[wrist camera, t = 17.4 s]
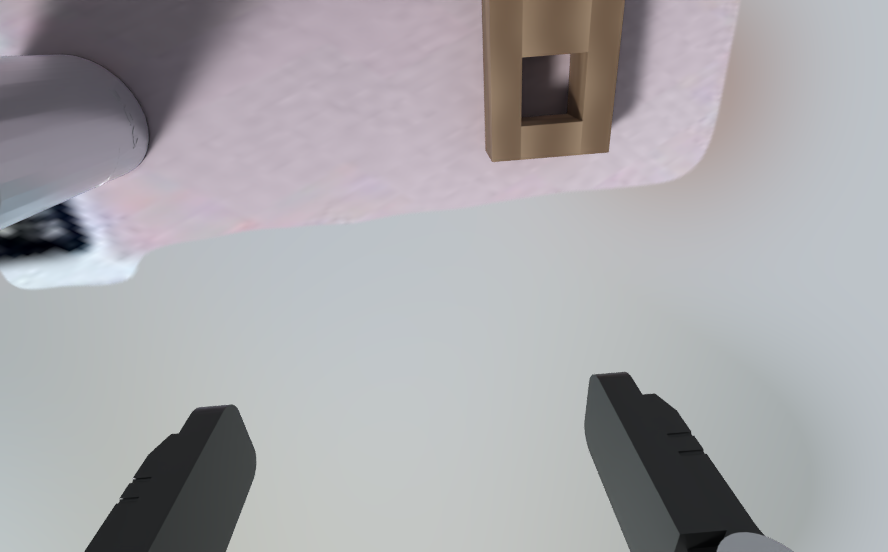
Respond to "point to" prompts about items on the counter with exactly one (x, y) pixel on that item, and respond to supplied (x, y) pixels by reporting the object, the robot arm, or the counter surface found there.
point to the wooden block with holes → (590, 77)
